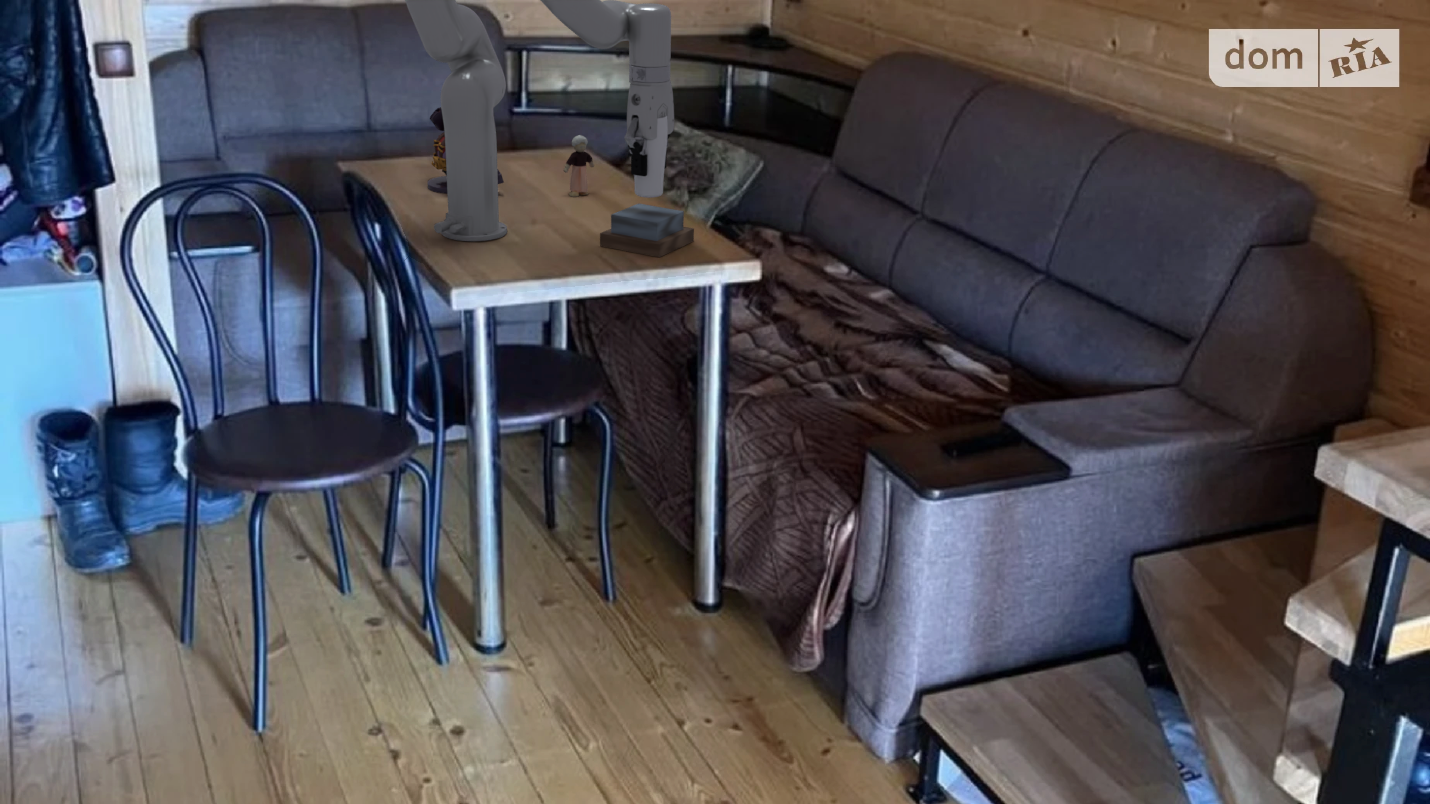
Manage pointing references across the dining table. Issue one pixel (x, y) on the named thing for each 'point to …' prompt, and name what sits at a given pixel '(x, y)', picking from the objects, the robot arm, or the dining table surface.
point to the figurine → (442, 156)
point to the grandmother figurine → (578, 167)
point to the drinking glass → (653, 162)
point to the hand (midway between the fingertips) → (648, 170)
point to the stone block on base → (647, 230)
